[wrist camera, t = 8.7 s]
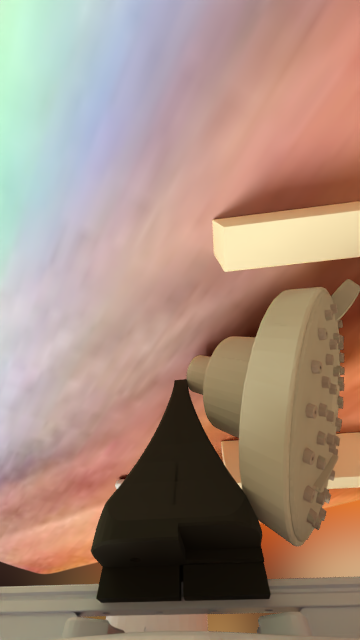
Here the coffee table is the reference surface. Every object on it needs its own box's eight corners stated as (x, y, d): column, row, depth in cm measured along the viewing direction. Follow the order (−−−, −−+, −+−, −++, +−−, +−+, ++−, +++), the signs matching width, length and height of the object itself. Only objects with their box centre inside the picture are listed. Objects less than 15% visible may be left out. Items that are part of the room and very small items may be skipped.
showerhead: (363, 311, 13) (352, 504, 11) (244, 310, 17) (223, 444, 16) (355, 208, 6) (322, 693, 4) (161, 254, 10) (109, 482, 9)
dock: (400, 441, 18) (438, 483, 15) (221, 451, 18) (228, 493, 16) (563, 175, 9) (722, 165, 6) (212, 219, 10) (223, 227, 7)
